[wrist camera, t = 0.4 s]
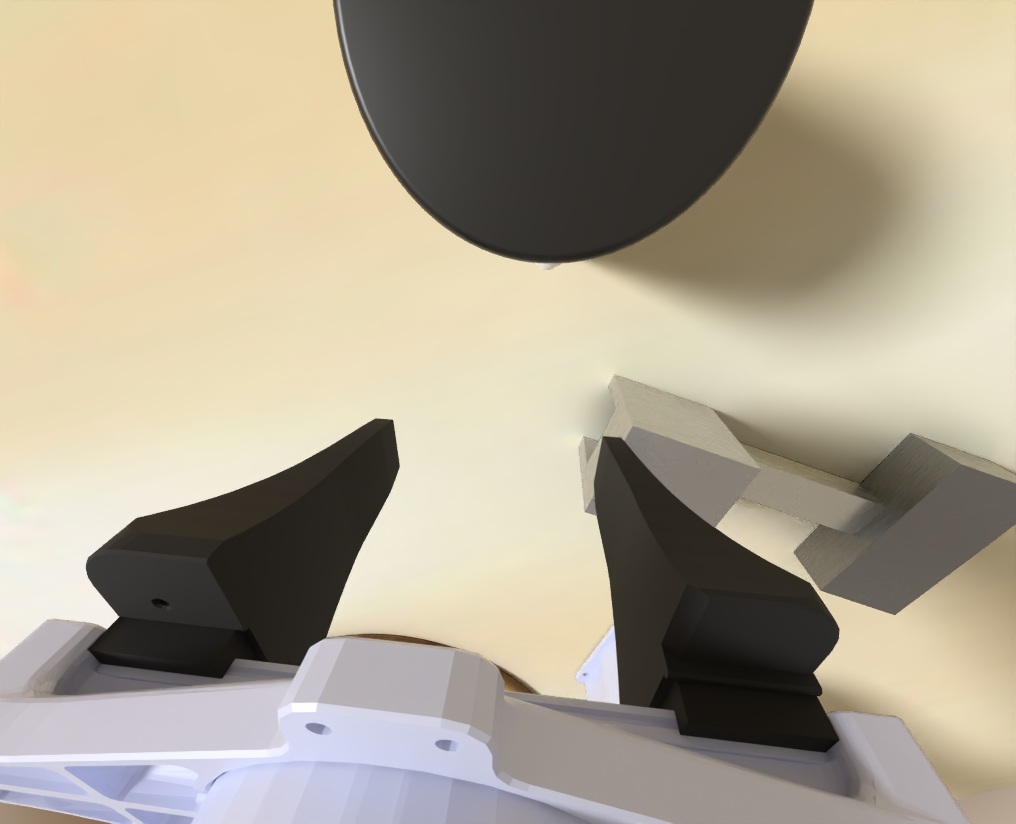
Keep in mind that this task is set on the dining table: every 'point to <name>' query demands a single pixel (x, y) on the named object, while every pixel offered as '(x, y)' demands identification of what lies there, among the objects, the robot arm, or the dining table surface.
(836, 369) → the dining table surface
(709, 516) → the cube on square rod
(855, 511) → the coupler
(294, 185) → the dining table surface
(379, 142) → the jar
